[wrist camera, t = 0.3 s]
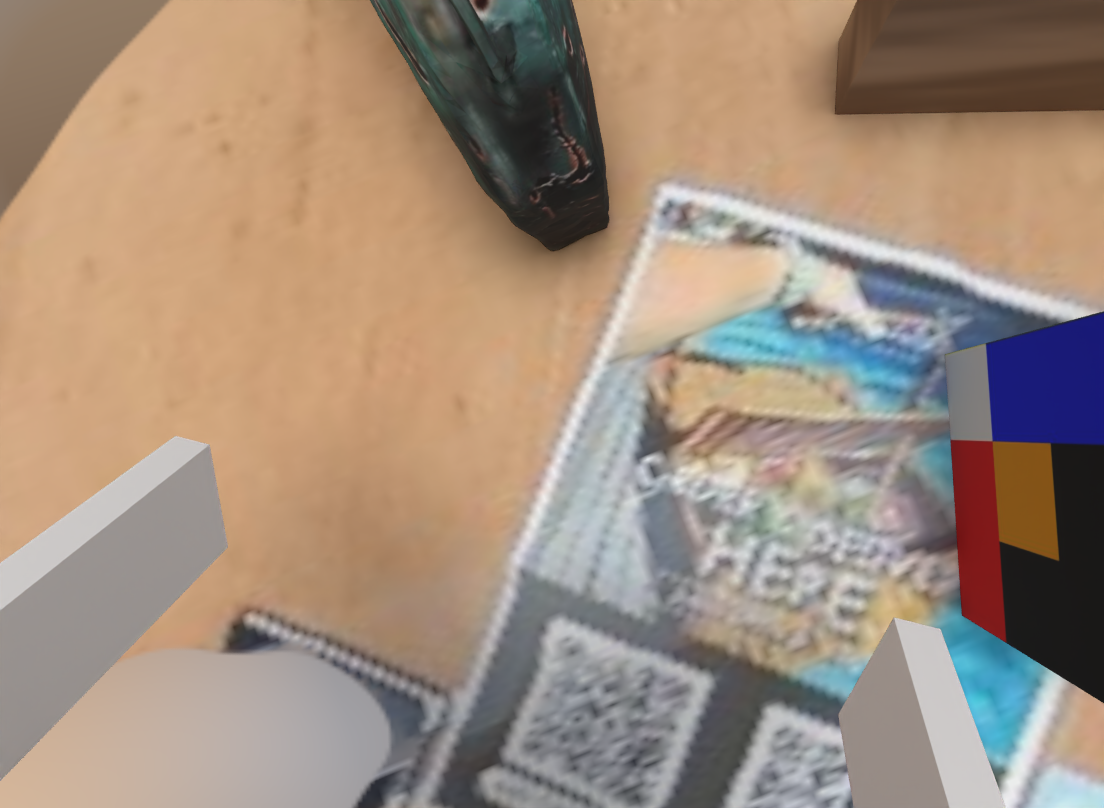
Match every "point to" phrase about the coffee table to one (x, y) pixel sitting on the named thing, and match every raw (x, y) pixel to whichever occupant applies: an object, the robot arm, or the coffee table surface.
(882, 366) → the coffee table surface
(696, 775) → the coffee table surface
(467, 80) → the ceramic cat
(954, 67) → the walnut board
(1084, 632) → the puzzle toy
